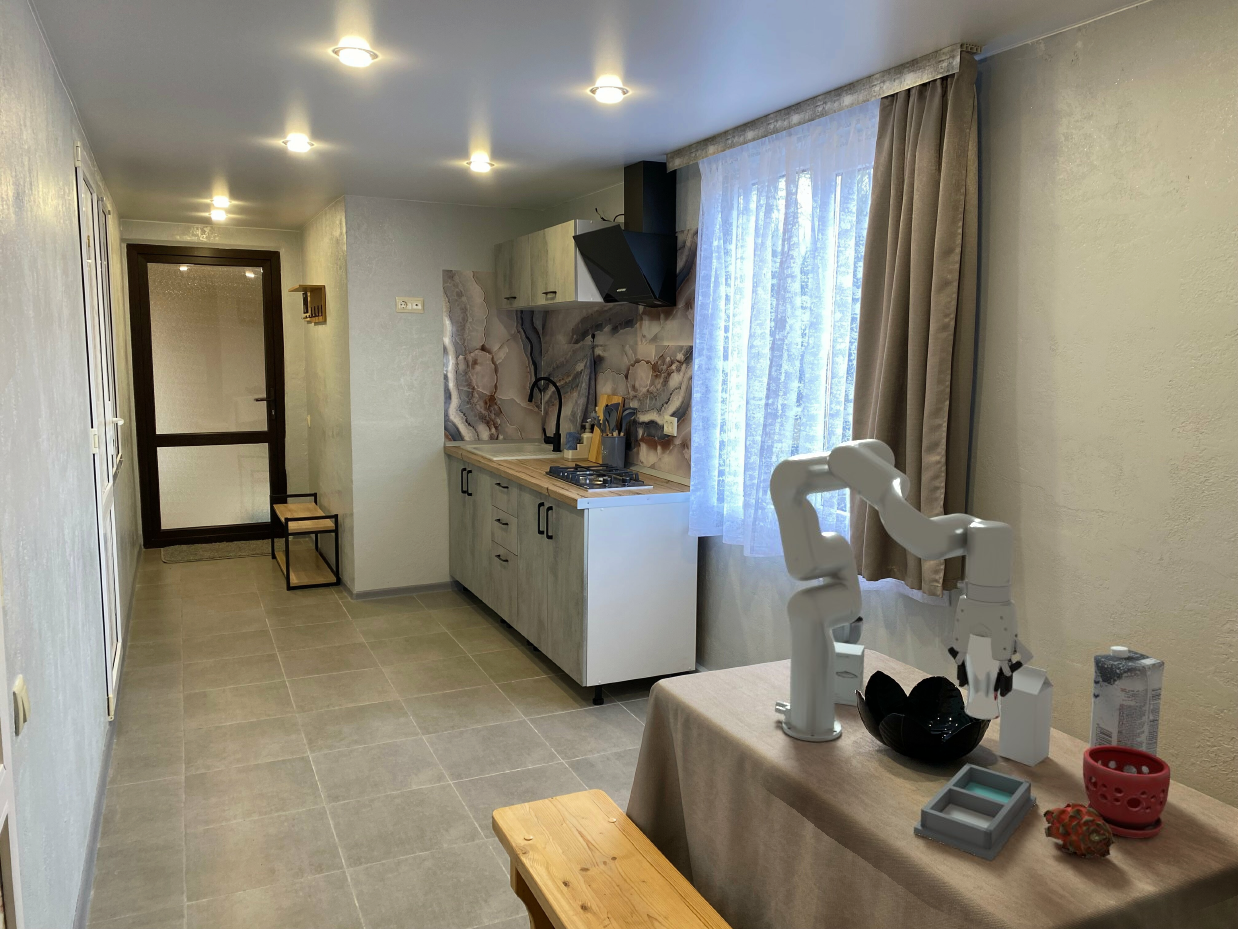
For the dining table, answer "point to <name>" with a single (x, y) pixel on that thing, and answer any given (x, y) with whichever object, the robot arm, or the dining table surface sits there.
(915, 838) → the dining table surface
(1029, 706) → the milk carton
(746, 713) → the dining table surface
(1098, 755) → the plant pot
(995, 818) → the gray divided sorting tray
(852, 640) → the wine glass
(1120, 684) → the juice carton
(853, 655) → the supplement box
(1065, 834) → the dragon fruit
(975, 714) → the silver metal cup
